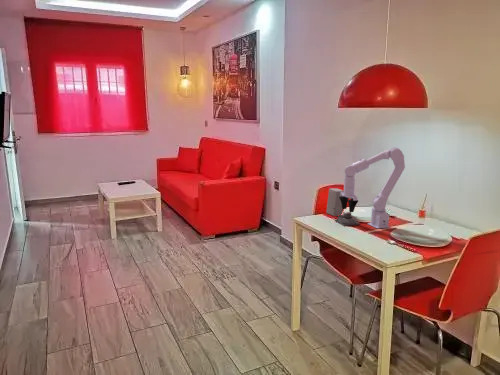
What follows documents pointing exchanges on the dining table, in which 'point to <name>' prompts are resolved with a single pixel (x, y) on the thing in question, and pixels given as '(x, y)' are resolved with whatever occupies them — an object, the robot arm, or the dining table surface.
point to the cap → (346, 214)
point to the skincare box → (334, 202)
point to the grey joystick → (347, 220)
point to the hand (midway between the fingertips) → (347, 210)
